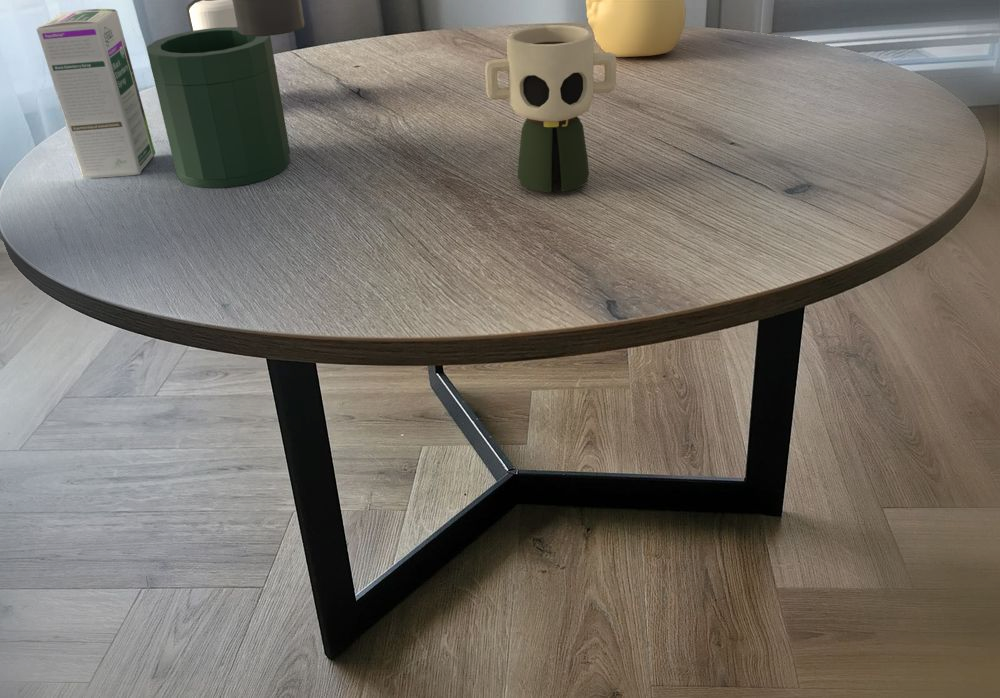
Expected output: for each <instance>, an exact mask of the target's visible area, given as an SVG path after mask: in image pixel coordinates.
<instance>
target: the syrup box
mask: <svg viewBox="0 0 1000 698" xmlns="http://www.w3.org/2000/svg"><path fill="white" fill-rule="evenodd" d="M35 30H36V32H37V35H38V38H39V41H40V45H41V48H42V52H43V54H44V58H45V61H46V65H47V68H48V71H49V74H50V78H51V80H52V84H53V87H54V90H55V93H56V96H57V100H58V104H59V107H60V109H61V112H62V115H63V116H62V117H63V120H64V122H65V124H66V125H65V126H66V129H67V132H68V136H69V138H70V141H71V145H72V148H73V152H74V154H75V157H76V160H77V163H78V167H79V170H80V174H81V176H82V177H83V178H85V179H86V178H87V179H89V178H90V179H91V178H92V179H94V178H96V179H97V178H98V179H99V178H100V179H101V178H112V177H113V178H115V177H125V176H127V177H128V176H135V175H137V176H138V175H140V174H142V170H144V169H145V167H146V166H147V165H148V164H149V162H150V161H151V160H152V158H153V157H154V156H155V154H156V150H155V147H154V143H153V139H152V136H151V133H150V128H149V125H148V120H147V117H146V113H145V110H144V105H143V102H142V97H141V95H140V91H139V87H138V84H137V80H136V76H135V72H134V68H133V65H132V61H131V57H130V54H129V50H128V46H127V43H126V39H125V36H124V32H123V28H122V24H121V21H120V18H119V14H118V11H117V10H116V9H113V8H89V9H81V10H80V9H79V10H73V11H67V12H61V13H60V12H59V13H57V14H56V16H55V17H53V18H52V19H50V20H48V21H47V22H45V23H44V24H41V25H39V26H38V27H37V28H36V29H35Z"/></svg>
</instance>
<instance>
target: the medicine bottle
mask: <svg viewBox="0 0 1000 698" xmlns="http://www.w3.org/2000/svg"><path fill="white" fill-rule="evenodd" d="M185 10H186V14H187V19H188V24H189V29H190V31H194V30H202V29H210V28H225V27H237V22H236V17H235V12H234V6H233V1H232V0H192V1H190V2H189V3H188V4H187V6H186V9H185Z"/></svg>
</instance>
